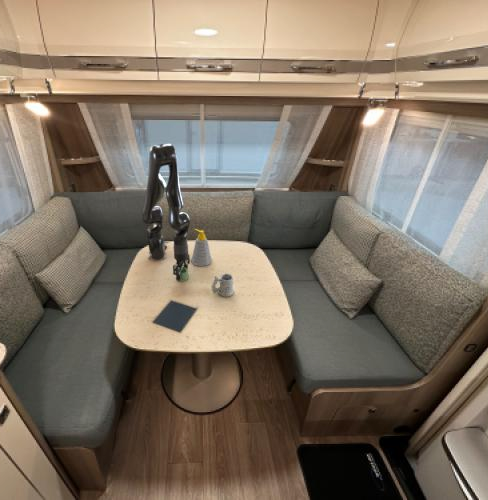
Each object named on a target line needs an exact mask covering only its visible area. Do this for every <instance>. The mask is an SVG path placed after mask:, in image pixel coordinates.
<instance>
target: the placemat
mask: <svg viewBox="0 0 488 500" xmlns="http://www.w3.org/2000/svg"><path fill="white" fill-rule="evenodd" d="M162 309H163V310H162V311H161V312H160V313H159V314H158V315H157V316H156V317H155V319H153V321H152V323H154V324H156V325H158V326H159V325H160V326H162V327H165V328H168V329H171V330H173V331H176V332H179V333H181V332H182V330H183V329H184V328H185V326H186V325H187V323H189V321H190V320H191V317H192V316H193V315H194V313H195V311H196V310H197V308H196V307H193V306H190V305H186V304H185V303H182V302H181V303H180V302H177V301H176V300H175V301H174V300H170V301H169V303H168V304H166V306H165V307H164V308H162Z"/></svg>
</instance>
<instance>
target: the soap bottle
mask: <svg viewBox="0 0 488 500" xmlns="http://www.w3.org/2000/svg"><path fill="white" fill-rule="evenodd" d="M194 231H195V232H198V233H199V234H197V237H196V238H195V242H194V247H193V252H192V257H191V263H192V264H193V265H195V266H196V267H197V266H198V267H206V266H208V265H210V264H211V263H212V255H211V250H210V245H209V241H208V238H207V237H206V234H205V231H204V230H201V229H197V228H194Z"/></svg>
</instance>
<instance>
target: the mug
mask: <svg viewBox="0 0 488 500" xmlns="http://www.w3.org/2000/svg"><path fill="white" fill-rule="evenodd" d="M218 282H219V286H218V287H217V288H216V285H218ZM211 291H212V293H213V294H214V295H216V293H219V295H220V296H221V297H224V298H228V297H231V296H232V295H233V293H234V276H233V275H232V274H231V273H223V274H221V275H220V277H218V276H217V274H216V275H214V279H213V281H212V284H211Z"/></svg>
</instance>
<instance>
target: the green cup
mask: <svg viewBox="0 0 488 500" xmlns="http://www.w3.org/2000/svg"><path fill="white" fill-rule="evenodd" d="M178 269H181V268H178ZM178 272H179V270H178ZM188 279H189V268H188V269H187V268H186V267H184V266H183V268H182V271H181V272H180V280H178V281H179V282H185V281H187V280H188Z"/></svg>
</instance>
